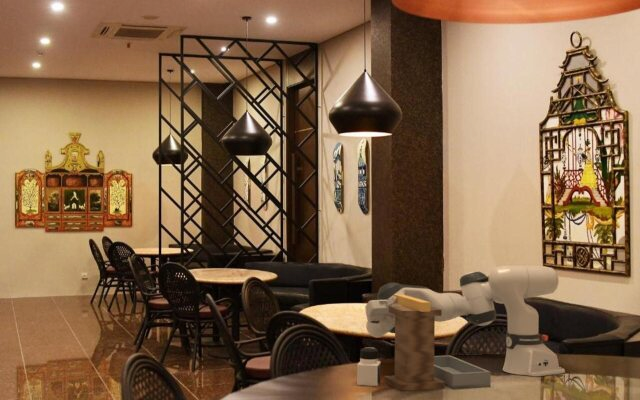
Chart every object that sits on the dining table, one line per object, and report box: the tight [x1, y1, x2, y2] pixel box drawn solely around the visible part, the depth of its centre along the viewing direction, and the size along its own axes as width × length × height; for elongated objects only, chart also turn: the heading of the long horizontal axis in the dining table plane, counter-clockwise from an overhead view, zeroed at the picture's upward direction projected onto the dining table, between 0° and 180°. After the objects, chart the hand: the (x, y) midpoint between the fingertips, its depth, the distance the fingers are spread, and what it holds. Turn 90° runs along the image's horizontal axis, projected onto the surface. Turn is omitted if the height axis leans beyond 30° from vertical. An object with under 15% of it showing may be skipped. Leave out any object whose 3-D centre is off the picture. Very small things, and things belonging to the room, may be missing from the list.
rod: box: [394, 294, 430, 312], centre depth 276 cm, size 3×24×3 cm, turn 17°
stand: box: [383, 306, 446, 392], centre depth 273 cm, size 16×14×26 cm
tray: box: [434, 355, 492, 390], centre depth 284 cm, size 14×30×5 cm, turn 18°
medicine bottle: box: [356, 347, 382, 387], centre depth 275 cm, size 7×7×12 cm
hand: (401, 298), depth 284 cm, fingers closed on rod, 3 cm apart
